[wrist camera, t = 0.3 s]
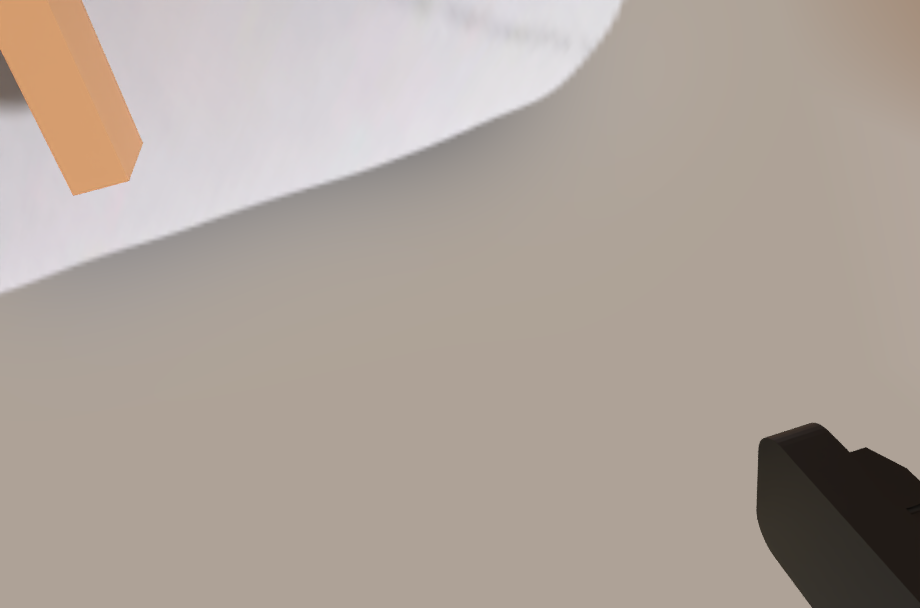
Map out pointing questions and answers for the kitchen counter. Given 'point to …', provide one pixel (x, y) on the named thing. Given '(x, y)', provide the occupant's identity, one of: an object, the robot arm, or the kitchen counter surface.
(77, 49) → the orange bar
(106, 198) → the kitchen counter surface
